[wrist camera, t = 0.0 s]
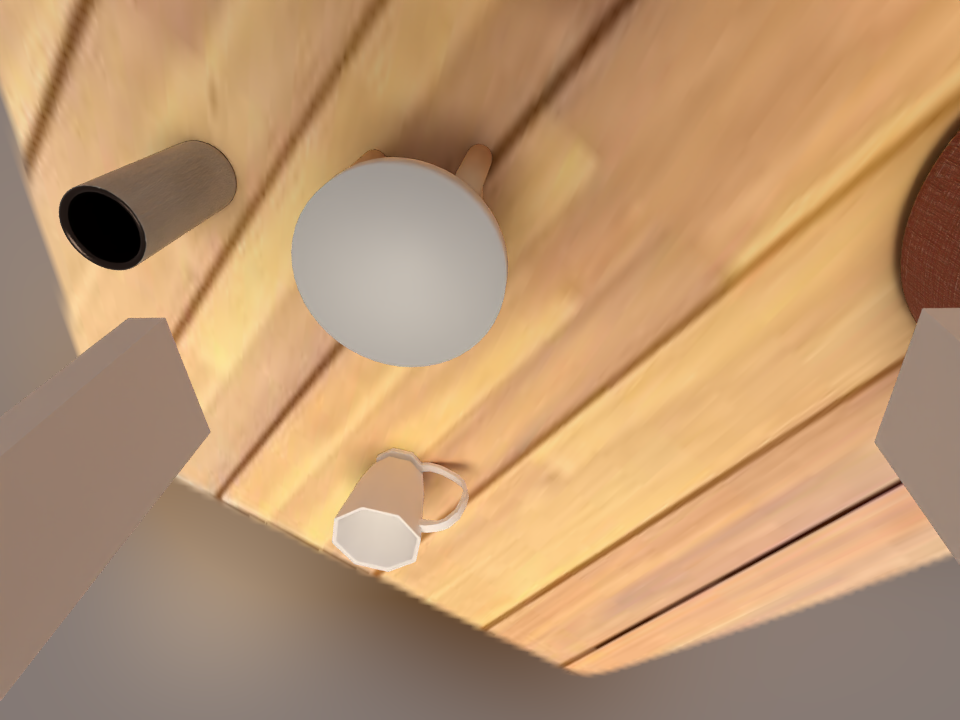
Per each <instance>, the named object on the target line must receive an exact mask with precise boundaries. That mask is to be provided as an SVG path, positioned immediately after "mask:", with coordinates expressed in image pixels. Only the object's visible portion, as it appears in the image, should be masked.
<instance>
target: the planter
mask: <svg viewBox="0 0 960 720" xmlns="http://www.w3.org/2000/svg"><path fill="white" fill-rule="evenodd" d="M901 280H902V287H903V291H904V295H905V298H906V301H907V304H908V307H909V309H910V312H911V314H912V316H913V318H914V319H915V321H916V323H917V322H918V319H919V316H920V314H921V311H922V308H960V129H959V131H958V132H957V133H956V134H955V136H954V137H953V138H952V139H951V141H950V142H949V143H948V145H947V146H946V147H945V149H944V150H943V152H942V153H941V154H940V156H939V157H938V159H937V160H936V162H935V163H934V165H933V167H932V168H931V170H930V172H929V173H928V175H927V177H926V179H925V181H924V183H923V185H922V186H921V189H920V191H919V193H918V195H917V197H916V200H915V202H914V204H913V207H912V210H911V212H910V215H909V218H908V221H907V225H906V228H905V233H904V237H903V243H902V251H901Z"/></svg>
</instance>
